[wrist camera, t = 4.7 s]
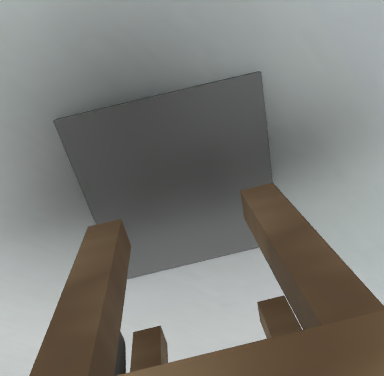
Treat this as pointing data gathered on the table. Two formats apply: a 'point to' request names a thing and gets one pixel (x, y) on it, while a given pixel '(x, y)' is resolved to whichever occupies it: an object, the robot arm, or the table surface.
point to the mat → (174, 169)
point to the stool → (268, 309)
